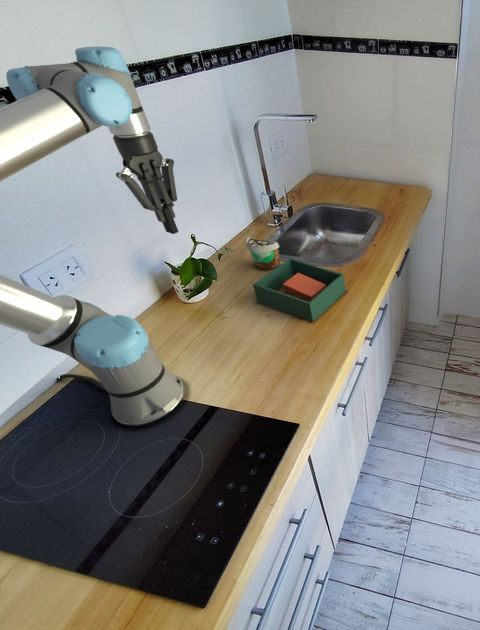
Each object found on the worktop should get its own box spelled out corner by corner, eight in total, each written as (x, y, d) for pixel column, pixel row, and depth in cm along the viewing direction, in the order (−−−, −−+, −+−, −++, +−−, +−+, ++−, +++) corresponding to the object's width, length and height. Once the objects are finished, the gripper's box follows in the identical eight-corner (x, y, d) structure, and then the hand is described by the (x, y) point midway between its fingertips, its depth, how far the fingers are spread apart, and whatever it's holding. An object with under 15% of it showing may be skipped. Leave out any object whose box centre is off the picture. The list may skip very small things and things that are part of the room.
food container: (244, 268, 143) (237, 243, 136) (254, 259, 147) (248, 235, 141) (274, 274, 140) (268, 250, 134) (283, 265, 145) (278, 241, 138)
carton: (282, 283, 125) (311, 296, 123) (298, 272, 130) (325, 284, 128) (284, 295, 128) (312, 308, 126) (299, 284, 134) (326, 296, 131)
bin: (257, 302, 128) (252, 284, 123) (293, 274, 140) (290, 257, 136) (313, 322, 121) (309, 304, 116) (345, 291, 134) (343, 274, 129)
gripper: (147, 124, 91) (183, 218, 106) (90, 138, 82) (138, 239, 97) (170, 128, 89) (204, 224, 104) (114, 143, 79) (159, 246, 94)
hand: (172, 231), depth 100 cm, fingers closed
